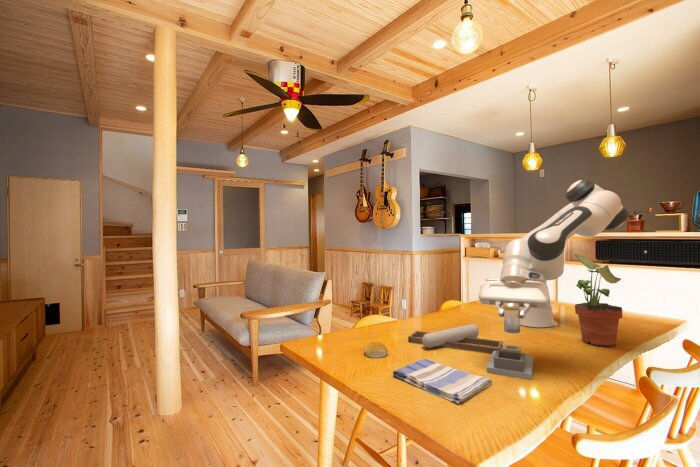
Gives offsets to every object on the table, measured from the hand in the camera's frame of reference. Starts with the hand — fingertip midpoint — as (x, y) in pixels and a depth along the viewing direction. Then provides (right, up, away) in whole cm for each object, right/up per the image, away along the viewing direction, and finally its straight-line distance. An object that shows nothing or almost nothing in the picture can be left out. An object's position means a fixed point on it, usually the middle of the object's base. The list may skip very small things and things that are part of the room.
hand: (511, 316), depth 103 cm
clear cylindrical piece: (+1, -5, 0) cm, 5 cm away
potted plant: (+43, -16, +22) cm, 51 cm away
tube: (-11, -16, +27) cm, 33 cm away
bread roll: (-39, -18, +18) cm, 47 cm away
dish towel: (-23, -18, -5) cm, 29 cm away
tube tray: (-9, -17, +26) cm, 32 cm away
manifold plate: (+2, -17, +4) cm, 17 cm away
